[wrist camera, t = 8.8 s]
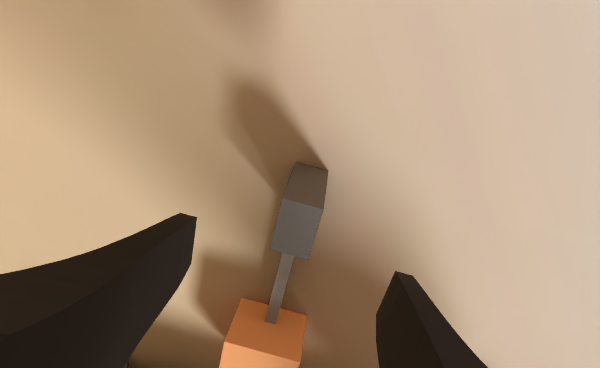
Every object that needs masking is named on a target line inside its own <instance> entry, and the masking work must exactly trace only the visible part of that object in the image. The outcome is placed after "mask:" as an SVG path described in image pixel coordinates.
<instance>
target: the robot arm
mask: <svg viewBox="0 0 600 368" xmlns="http://www.w3.org/2000/svg"><path fill="white" fill-rule="evenodd" d="M196 220H197V217H193V216H190V215H186V214H182V213H179V214H177V215H174V216H172V217H170V218H168V219H166V220H164V221H162V222H159V223H157V224H155V225H153V226H151V227H149V228H147V229H144V230H142V231H140V232H138V233H136V234H133V235H131V236H129V237H126V238H124V239H121V240H119V241H116V242H114V243H111V244H109V245H106V246H104V247H101V248H99V249H96V250H93V251H90V252H87V253H84V254H81V255H77V256H74V257H71V258H68V259H64V260H61V261H57V262H53V263H49V264H45V265H41V266H37V267H33V268H29V269H24V270H20V271H15V272H10V273H5V274H0V368H124V366H125V364H126V363H127V361H128V359H129V357H130V356H131V354H132V352H133V351H134V349H135V348H136V346H137V345H138V343H139V342H140V340H141V339H142V337H143V336H144V335H145V333H146V332H147V331H148V329H149V328H150V326H151V325H152V324H153V322H154V321H155V319H156V318H157V317H158V315H159V314H160V312H161V311H162V310H163V308H164V307H165V306H166V304H167V303H168V301H169V300H170V298H171V297H172V296H173V294H174V293H175V291H176V290H177V288H178V287H179V285H180V283H181V282H182V280H183V278H184V276H185V274H186V272H187V270H188V268H189V266H190V265H191V260H192V252H193V244H194V236H195V228H196ZM376 343H377V352H378V360H379V368H488V367H487V366H486V365H485V364H484V363H483V362H482V361H481V360H480V359H479V358H478V357H477V356H476V355H475V354H474V353H473V351H472V350H471V349H470V348H469V347H468V346H467V345H466V343H465V342H464V341H463V340H462V339H461V338H460V336H459V335H458V334H457V333H456V332H455V330H454V329H453V328H452V327H451V325H450V324H449V323H448V322H447V320H446V319H445V318H444V316H443V315H442V314H441V313H440V311H439V310H438V309H437V307H436V306H435V305H434V303H433V302H432V301H431V299H430V298H429V297H428V295H427V294H426V293H425V291H424V290H423V289H422V287H421V286H420V285H419V283H418V282H417V281H416V279H415V278H414V277H413V276H412V275H408V274H404V273H400V272H397V271H395V273H394V275H393V278H392V280H391V282H390V284H389V287H388V289H387V291H386V293H385V296H384V298H383V300H382V303H381V305H380V307H379V309H378V312H377V314H376Z"/></svg>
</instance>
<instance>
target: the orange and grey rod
mask: <svg viewBox="0 0 600 368" xmlns="http://www.w3.org/2000/svg"><path fill="white" fill-rule="evenodd" d="M327 177H328V170H324V169H320V168H316V167H313V166H309V165H305V164H301V163H298V162H296V164H295V166H294V169H293V171H292V174H291V177H290V179H289V182H288V184H287V187H286V189H285V192H284V195H283V197H282V201H281V205H280V209H279V213H278V217H277V221H276V226H275V230H274V234H273V238H272V242H271V246H270V250H273V251H277V252H280V253H282V256H281V260H280V263H279V267H278V271H277V275H276V279H275V283H274V286H273V290H272V294H271V298H270V302H269V305H267V304H263V303H260V302H256V301H252V300H249V299H245V298H241V301H240V303H239V306H238V308H237V311H236V313H235V316H234V318H233V321H232V323H231V326H230V328H229V331H228V333H227V336H226V338H225V341H224V345H223V350H222V355H221V360H220V365H219V368H299V365H300V361H301V354H302V346H303V339H304V332H305V325H306V317H307V315H303V314H300V313H296V312H292V311H289V310H285V309H282V308H280V306H281V303H282V299H283V296H284V292H285V289H286V285H287V281H288V278H289V274H290V271H291V267H292V264H293V260H294V257H299V258H302V259H306V260H308V258H309V255H310V252H311V249H312V245H313V242H314V239H315V235H316V232H317V229H318V226H319V222H320V219H321V216H322V212H323V209H324V201H325V193H326V185H327Z"/></svg>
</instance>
